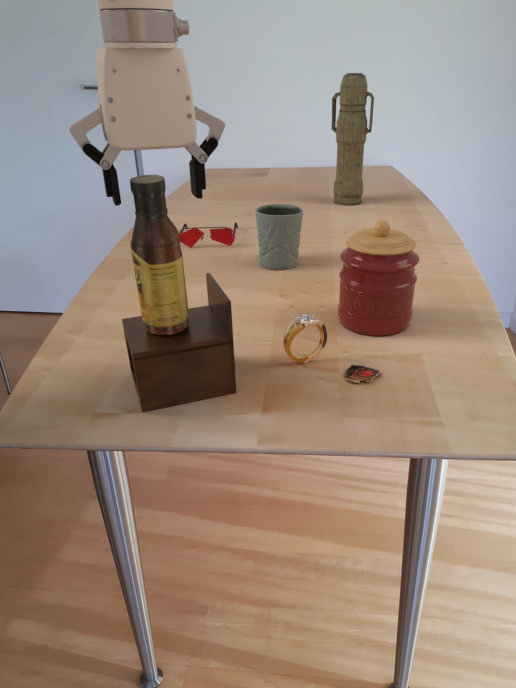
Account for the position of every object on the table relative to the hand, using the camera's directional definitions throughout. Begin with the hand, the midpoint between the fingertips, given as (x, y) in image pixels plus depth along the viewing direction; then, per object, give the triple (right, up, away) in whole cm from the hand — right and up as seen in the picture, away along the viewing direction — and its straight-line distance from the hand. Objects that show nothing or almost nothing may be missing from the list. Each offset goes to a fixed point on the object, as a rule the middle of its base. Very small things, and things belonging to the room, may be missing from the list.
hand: (157, 199), depth 66 cm
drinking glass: (+15, +3, +57) cm, 59 cm away
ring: (+19, -19, +19) cm, 33 cm away
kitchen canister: (+31, -12, +31) cm, 46 cm away
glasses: (-3, +13, +73) cm, 74 cm away
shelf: (+1, -22, +14) cm, 26 cm away
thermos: (+36, +32, +104) cm, 114 cm away
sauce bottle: (-1, -15, +9) cm, 17 cm away
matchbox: (+27, -22, +15) cm, 37 cm away
